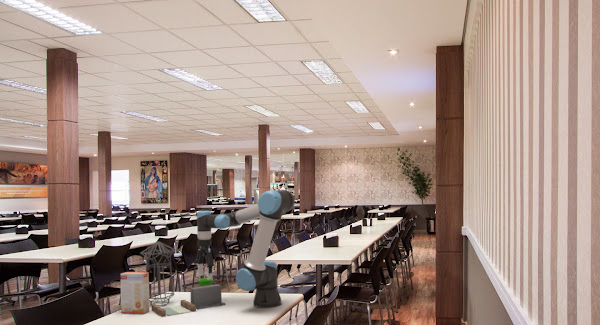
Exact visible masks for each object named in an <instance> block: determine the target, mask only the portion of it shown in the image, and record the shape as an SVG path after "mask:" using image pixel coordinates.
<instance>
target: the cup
mask: <svg viewBox="0 0 600 325" xmlns="http://www.w3.org/2000/svg"><path fill="white" fill-rule="evenodd" d="M197 281H198V282H197V283H198V287H201V286H208V285H213V282H214V278H212V279H209V280H207V277H205V278H203V277H202V278H199V279H197Z"/></svg>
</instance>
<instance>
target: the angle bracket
mask: <svg viewBox="0 0 600 325" xmlns="http://www.w3.org/2000/svg"><path fill="white" fill-rule="evenodd" d="M190 303H192V304H194V305H196V311H197V310H203V309H210V308H215V307H221V306H226V302H224V301H222V284H218V283H217V284H216V283H215V284H212V285H208V286H201V287H199V286H196V287H195V286H194V287H190Z"/></svg>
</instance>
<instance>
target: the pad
mask: <svg viewBox="0 0 600 325" xmlns="http://www.w3.org/2000/svg"><path fill="white" fill-rule="evenodd" d="M162 308H163V309H164V310H166V316H167V317H170V316H175V315H182V314H186V313H187V314H188V313H191V311H190V310H188V309H186V308H184V307H182V306H181V305H179V304H178V305H174V306H172V305H171V306H166V307H162Z"/></svg>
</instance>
